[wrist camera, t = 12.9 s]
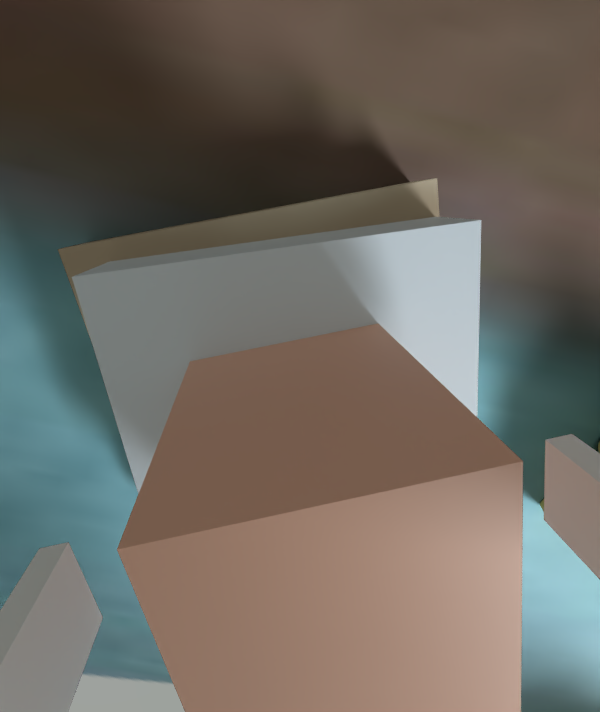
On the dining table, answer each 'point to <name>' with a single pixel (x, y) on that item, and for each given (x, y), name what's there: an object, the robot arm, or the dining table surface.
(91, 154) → the dining table surface
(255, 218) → the tower base
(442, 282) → the tower top
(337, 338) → the terracotta block
